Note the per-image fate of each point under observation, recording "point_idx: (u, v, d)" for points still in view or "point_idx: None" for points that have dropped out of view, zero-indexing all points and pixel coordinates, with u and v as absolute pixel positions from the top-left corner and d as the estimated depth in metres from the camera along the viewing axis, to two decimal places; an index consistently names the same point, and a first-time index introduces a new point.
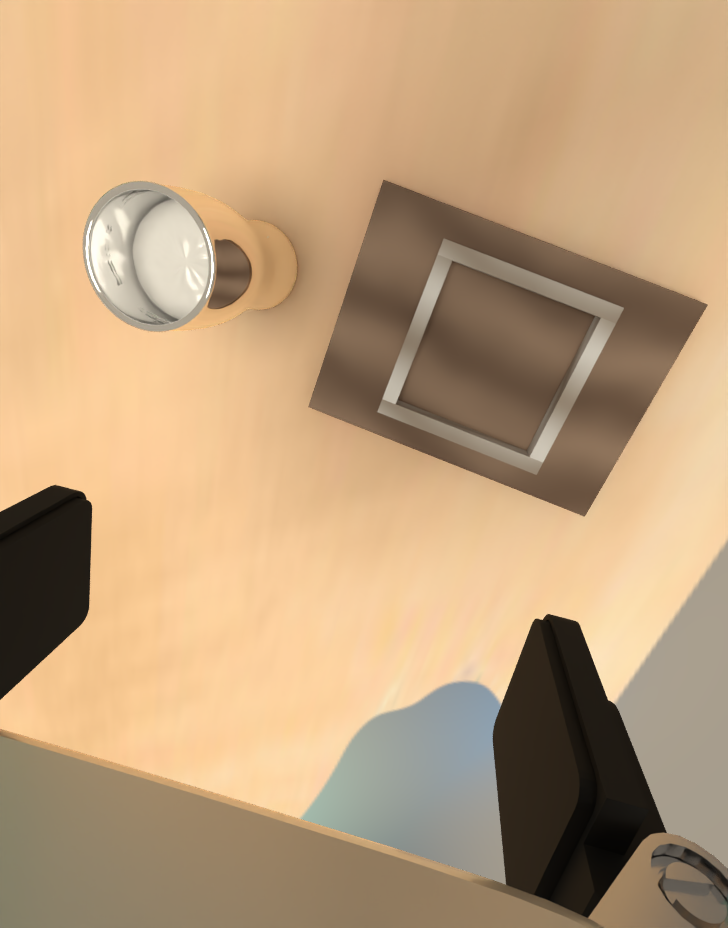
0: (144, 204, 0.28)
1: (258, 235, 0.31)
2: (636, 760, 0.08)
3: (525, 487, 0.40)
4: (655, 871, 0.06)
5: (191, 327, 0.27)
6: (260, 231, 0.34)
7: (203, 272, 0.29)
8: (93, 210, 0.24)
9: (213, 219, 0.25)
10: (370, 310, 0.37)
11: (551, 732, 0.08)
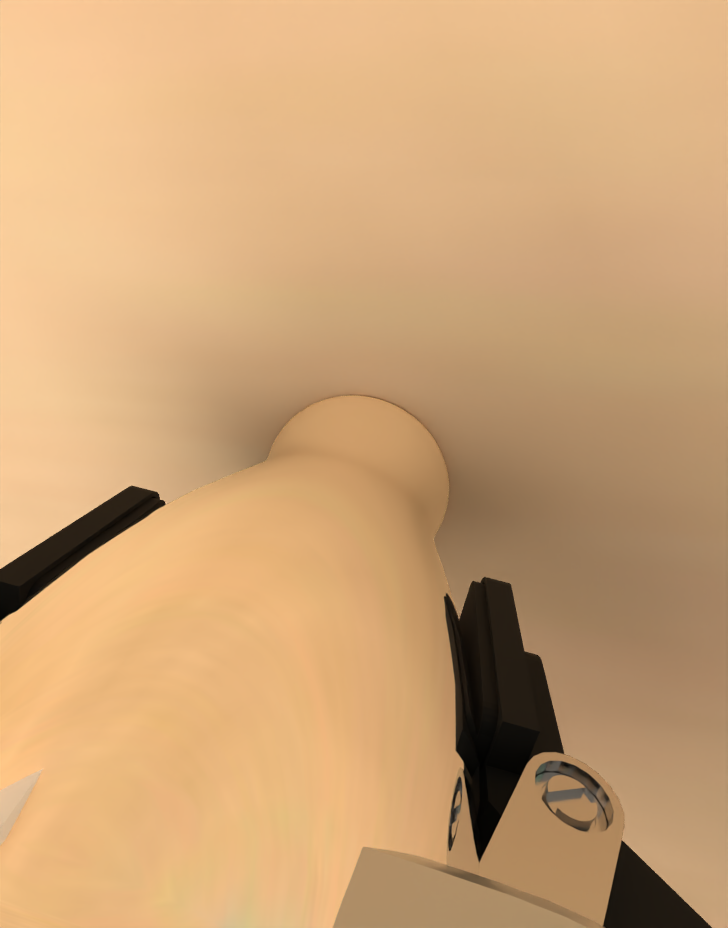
0: None
1: None
2: (550, 701, 0.09)
3: None
4: (542, 783, 0.07)
5: None
6: None
7: None
8: None
9: None
10: None
11: (471, 675, 0.09)
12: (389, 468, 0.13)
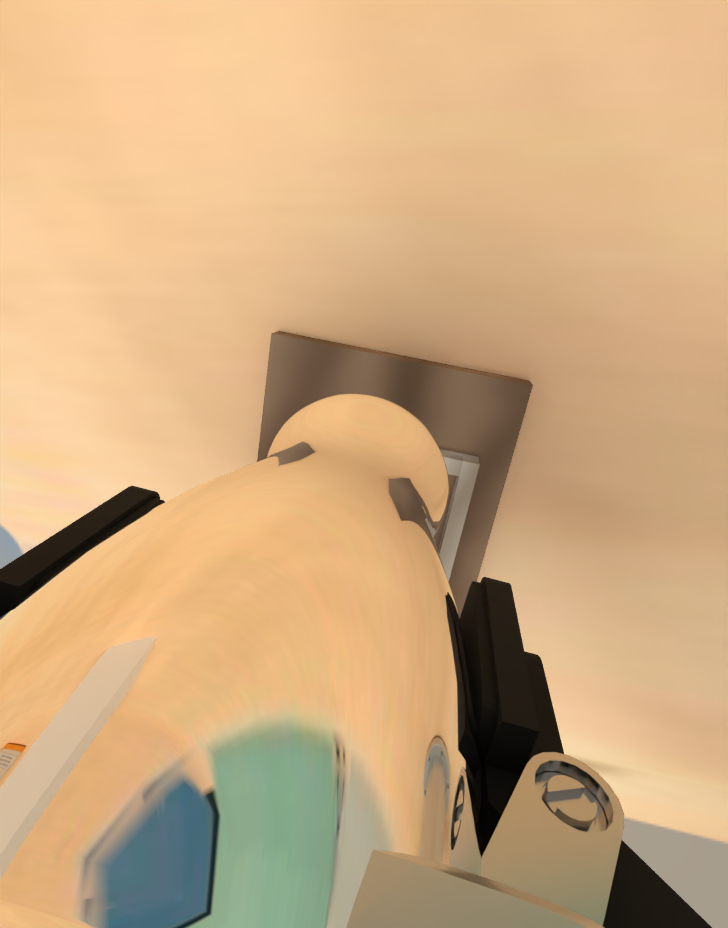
0: None
1: None
2: (549, 701, 0.09)
3: None
4: (542, 783, 0.07)
5: None
6: None
7: None
8: None
9: None
10: (395, 391, 0.33)
11: None
12: (389, 466, 0.13)
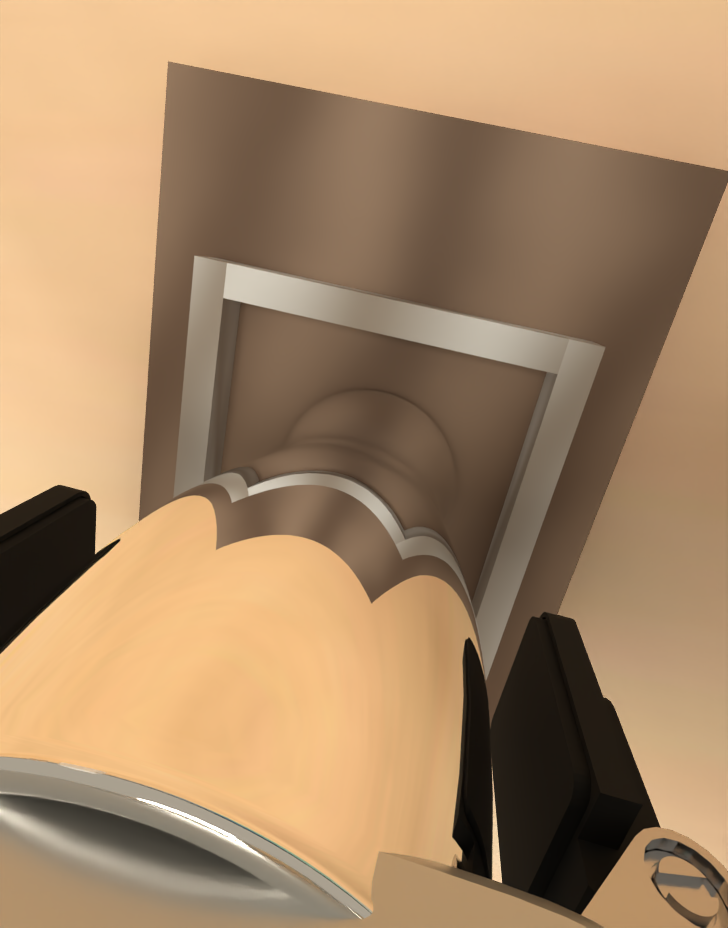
0: None
1: None
2: (631, 756, 0.08)
3: None
4: (648, 865, 0.06)
5: None
6: None
7: None
8: (287, 885, 0.04)
9: None
10: (426, 193, 0.16)
11: (546, 728, 0.08)
12: (401, 456, 0.14)
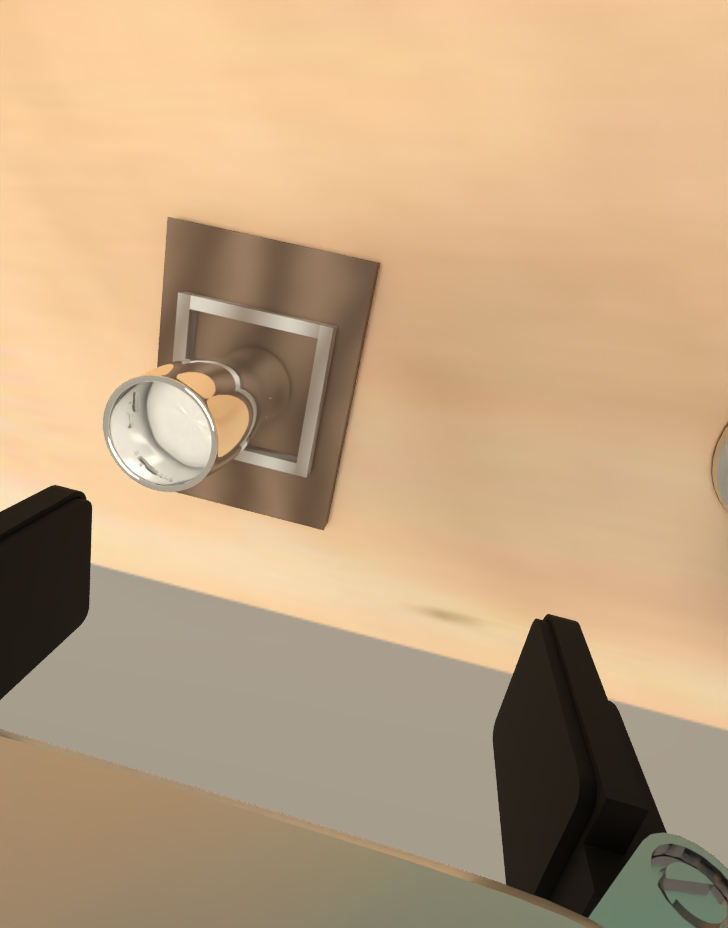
0: None
1: None
2: (636, 760, 0.08)
3: None
4: (655, 871, 0.06)
5: None
6: (266, 415, 0.39)
7: (187, 433, 0.33)
8: (184, 389, 0.28)
9: (211, 473, 0.31)
10: (268, 268, 0.40)
11: (551, 732, 0.08)
12: (251, 366, 0.38)
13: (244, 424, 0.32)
